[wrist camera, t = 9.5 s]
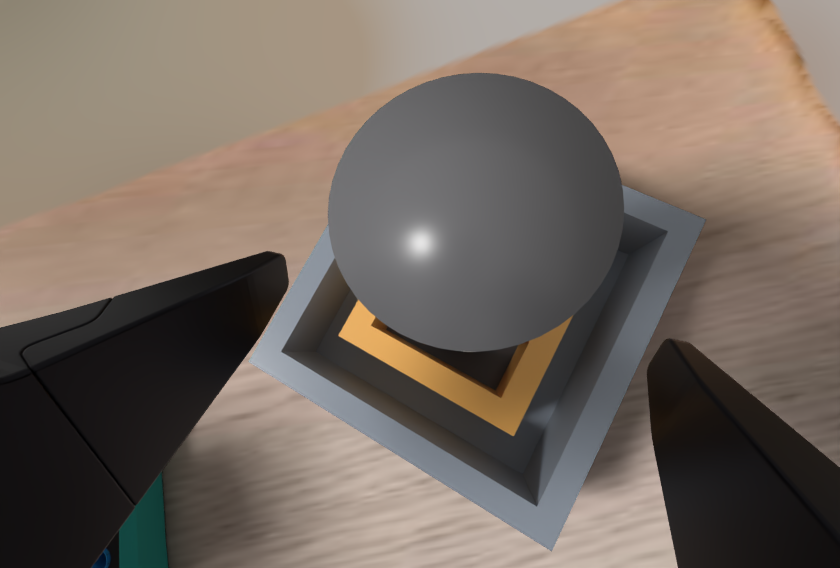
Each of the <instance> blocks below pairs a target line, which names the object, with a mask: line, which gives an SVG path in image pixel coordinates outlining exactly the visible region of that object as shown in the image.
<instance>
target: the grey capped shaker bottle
mask: <svg viewBox="0 0 840 568" xmlns="http://www.w3.org/2000/svg"><path fill="white" fill-rule="evenodd" d="M623 220H624V198H623V188H622V183H621V179H620V175H619V171H618V168H617V165H616V163H615V160H614V157H613V155H612V153H611V151H610V149H609V147H608V145H607V144H606V142H605V140H604V138H603V137H602V135H601V134H600V133H599V131H598V130H597V129H596V127H595V126H594V125H593V123H592V122H591V121H590V120H589V119H588V118H587V117H586V116H585V115H584V114H583V113H582V112H581V111H580V110H579V109H578V108H576V107H575V106H574V105H572V104H571V103H570V102H568V101H567V100H566V99H565V98H563V97H561V96H560V95H558V94H556V93H554V92H553V91H551V90H549V89H547V88H545V87H543V86H540V85H538V84H536V83H533V82H530V81H527V80H524V79H520V78H517V77H513V76H507V75H500V74H490V73H470V74H458V75H453V76H447V77H442V78H439V79H435V80H432V81H429V82H426V83H423V84H421V85H419V86H416V87H414V88H412V89H409V90H407V91H406V92H404V93H402V94H400V95H399V96H397V97H395V98H394V99H392V100H391V101H389V102H388V103H387V104H385V105H384V106H383V107H381V108H380V109H379V110H378V111H377V112H376V113H375V114H373V115H372V116H371V117H370V118H369V119H368V120H367V121H366V122H365V123H364V125H363V126H362V127H361V128H360V129H359V131H358V132H357V133H356V134H355V136H354V137H353V139H352V140H351V142H350V143H349V145H348V146H347V148H346V149H345V151H344V154H343V156H342V158H341V160H340V162H339V164H338V166H337V169H336V172H335V175H334V178H333V181H332V186H331V191H330V196H329V205H328V226H329V236H330V241H331V246H332V250H333V253H334V256H335V259H336V262H337V265H338V267H339V269H340V271H341V273H342V275H343V277H344V279H345V281H346V283H347V285H348V286H349V287H350V289H351V290H352V292H353V293H354V295H355V296H356V297H357V299H358V300H359V301H360V302H361V303H362V304H363V305H364V306H365V307H366V308H367V310H368V311H369V312H370V313H372V314H373V315H374V316H375V317H376V318H378V319H379V320H380V321H381V322H383V323H384V324H385V325H387V326H388V327H390V328H392V329H393V330H395V331H396V332H398V333H400V334H402V335H404V336H406V337H408V338H410V339H413V340H415V341H417V342H420V343H423V344H426V345H430V346H433V347H437V348H442V349H448V350H454V351H463V352H480V351H489V350H498V349H503V348H507V347H511V346H516V345H520V344H522V343H525V342H527V341H530V340H533V339H535V338H538V337H540V336H542V335H544V334H546V333H547V332H549V331H551V330H553V329H554V328H556V327H558V326H559V325H561V324H562V323H563V322H565V321H566V320H567V319H569V318H570V317H571V316H573V315H574V314H575V313H576V312H577V311H578V310H579V309H580V308H581V307H582V306H583V305H584V304H585V303H586V302H587V301H588V300H589V299H590V298H591V297H592V295H593V294H594V293H595V292H596V290H597V289H598V288H599V286H600V285H601V284H602V282H603V280H604V278H605V277H606V275H607V273H608V271H609V269H610V268H611V266H612V263H613V261H614V258H615V255H616V253H617V250H618V247H619V243H620V239H621V234H622V230H623Z"/></svg>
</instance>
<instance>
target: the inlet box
mask: <svg viewBox="0 0 840 568" xmlns="http://www.w3.org/2000/svg"><path fill="white" fill-rule="evenodd" d="M622 188H623V198H624V220H623V230H622V234H621V239H620V243H619V247H618V250H617V253H616V255H615V258H614V261H613V263H612V266H611V268H610V269H609V271H608V273H607V275H606V277H605V278H604V280H603V282H602V284H601V285H600V286H599V288H598V289H597V290H596V292H595V293H594V294H593V295H592V297H591V298H590V299H589V300H588V301H587V302H586V303H585V304H584V305H583V306H582V307H581V308H580V309H579V310H578V311H577V312H576V313H575V314H574V315H573V316H571V317H570V318H569V319H567V320H566V321H565V322H563V323H562V324H561V325H559V326H558V327H556V328H554V329H553V330H551V331H549V332H547V333H546V334H544V335H542V336H540V337H538V338H535V339H533V340H530V341H527V342H525V343H522V344H520V345H516V346H511V347H507V348H503V349H498V350H489V351H480V352H463V351H454V350H448V349H442V348H437V347H433V346H430V345H426V344H423V343H420V342H417V341H415V340H413V339H410V338H408V337H406V336H404V335H402V334H400V333H398V332H396V331H395V330H393V329H392V328H390V327H388V326H387V325H385V324H384V323H383V322H381V321H380V320H379V319H378V318H376V317H375V316H374V315H373V314H372V313H370V312H369V311H368V310H367V308H366V307H365V306H364V305H363V304H362V303H361V302H360V301H359V300H358V299H357V297H356V296H355V295H354V293H353V292H352V290H351V289H350V287H349V286H348V285H347V283H346V281H345V279H344V277H343V275H342V273H341V271H340V269H339V267H338V265H337V262H336V259H335V256H334V253H333V250H332V246H331V241H330V236H329V226H328V225H327V227H326V229H325V230H324V232H323V234H322V236H321V237H320V239H319V241H318V242H317V244H316V246H315V248H314V249H313V251H312V253H311V255H310V256H309V258H308V260H307V261H306V263H305V265H304V267H303V268H302V270H301V272H300V274H299V275H298V277H297V279H296V280H295V282H294V284H293V286H292V287H291V289H290V291H289V293H288V294H287V296H286V298H285V299H284V301H283V303H282V305H281V306H280V308H279V310H278V312H277V313H276V315H275V317H274V318H273V320H272V322H271V324H270V325H269V327H268V329H267V331H266V332H265V334H264V336H263V337H262V339H261V341H260V343H259V344H258V346H257V348H256V350H255V351H254V353H253V355H252V356H251V358H250V360H249V362H250V363H251V364H253V365H254V366H256V367H258V368H259V369H261V370H262V371H264V372H266V373H267V374H269V375H270V376H272V377H274V378H275V379H277V380H278V381H280V382H282V383H283V384H285V385H286V386H288V387H290V388H291V389H293V390H294V391H296V392H298V393H299V394H301V395H302V396H304V397H306V398H307V399H309V400H310V401H312V402H314V403H315V404H317V405H318V406H320V407H322V408H323V409H325V410H326V411H328V412H330V413H331V414H333V415H334V416H336V417H338V418H339V419H341V420H342V421H344V422H346V423H347V424H349V425H350V426H352V427H354V428H355V429H357V430H358V431H360V432H362V433H363V434H365V435H366V436H368V437H370V438H371V439H373V440H374V441H376V442H378V443H379V444H381V445H382V446H384V447H386V448H387V449H389V450H390V451H392V452H394V453H395V454H397V455H398V456H400V457H402V458H403V459H405V460H406V461H408V462H410V463H411V464H413V465H414V466H416V467H418V468H419V469H421V470H422V471H424V472H426V473H427V474H429V475H430V476H432V477H434V478H435V479H437V480H438V481H440V482H442V483H443V484H445V485H446V486H448V487H450V488H451V489H453V490H454V491H456V492H458V493H459V494H461V495H462V496H464V497H466V498H467V499H469V500H470V501H472V502H474V503H475V504H477V505H478V506H480V507H482V508H483V509H485V510H486V511H488V512H490V513H491V514H493V515H494V516H496V517H498V518H499V519H501V520H502V521H504V522H506V523H507V524H509V525H510V526H512V527H514V528H515V529H517V530H518V531H520V532H522V533H523V534H525V535H526V536H528V537H530V538H531V539H533V540H534V541H536V542H538V543H539V544H541V545H542V546H544V547H546V548H547V549H549V550H550V551H552V550H553V547H554V545H555V543H556V541H557V539H558V537H559V535H560V532H561V530H562V528H563V526H564V524H565V522H566V519H567V517H568V515H569V513H570V511H571V509H572V507H573V504H574V502H575V500H576V498H577V496H578V494H579V492H580V489H581V487H582V485H583V483H584V481H585V479H586V477H587V474H588V472H589V470H590V468H591V466H592V464H593V462H594V459H595V457H596V455H597V453H598V451H599V449H600V447H601V444H602V442H603V440H604V438H605V436H606V434H607V432H608V429H609V427H610V425H611V423H612V421H613V419H614V416H615V414H616V412H617V410H618V408H619V406H620V404H621V401H622V399H623V397H624V395H625V393H626V391H627V389H628V386H629V384H630V382H631V380H632V378H633V376H634V374H635V371H636V369H637V367H638V365H639V363H640V361H641V359H642V356H643V354H644V352H645V350H646V348H647V346H648V344H649V341H650V339H651V337H652V335H653V333H654V331H655V328H656V326H657V324H658V322H659V320H660V318H661V316H662V313H663V311H664V309H665V307H666V305H667V303H668V301H669V298H670V296H671V294H672V292H673V290H674V288H675V286H676V283H677V281H678V279H679V277H680V275H681V273H682V271H683V268H684V266H685V264H686V262H687V260H688V258H689V256H690V253H691V251H692V249H693V247H694V245H695V243H696V241H697V238H698V236H699V234H700V232H701V230H702V228H703V225H704V223H705V221H706V219H704V218H701V217H699V216H696V215H694V214H692V213H689V212H687V211H684V210H682V209H679V208H677V207H675V206H672V205H670V204H667V203H665V202H662V201H660V200H658V199H655V198H653V197H650V196H648V195H645V194H643V193H641V192H638V191H636V190H633V189H631V188H628V187H626V186H623V185H622Z"/></svg>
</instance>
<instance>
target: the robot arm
mask: <svg viewBox="0 0 840 568" xmlns="http://www.w3.org/2000/svg"><path fill="white" fill-rule="evenodd" d="M288 285H289V279H288V273H287V266H286V260H285V257H284V256H283V255H282V254H280V253H275V252H270V251H266V252H262V253H259V254H256V255H252V256H249V257H246V258H242V259H239V260H235V261H232V262H229V263H225V264H222V265H219V266H215V267H212V268H209V269H205V270H202V271H199V272H195V273H192V274H189V275H185V276H182V277H178V278H175V279H172V280H168V281H165V282H162V283H158V284H155V285H152V286H148V287H145V288H142V289H138V290H135V291H131V292H128V293H125V294H121V295H118V296H115V297H114V298H113V299H112V298H108V299H104V300H101V301H98V302H94V303H91V304H87V305H84V306H80V307H77V308H73V309H70V310H66V311H63V312H59V313H55V314H52V315H48V316H44V317H40V318H36V319H32V320H29V321H25V322H21V323H17V324H13V325H9V326H5V327H1V328H0V568H92V566H93V565H94V563H95V562H96V561H97V559H98V558H99V557H100V555H101V554H102V553H103V551H104V550H105V548H106V547H107V546H108V544H109V543H110V542H111V540H112V539H113V538H114V536H115V535H116V533H117V532H118V531H119V529H120V528H121V527H122V525H123V524H124V522H125V521H126V520H127V518H128V517H129V516H130V514H131V513H132V512H133V510H134V509H135V505H137V504H138V503H139V502H140V500H141V499H142V497H143V496H144V495H145V493H146V492H147V491H148V489H149V488H150V487H151V485H152V484H153V482H154V481H155V480H156V478H157V477H158V476H159V474H160V473H161V472H162V470H163V469H164V467H165V466H166V465H167V463H168V462H169V461H170V459H171V458H172V456H173V455H174V454H175V452H176V451H177V450H178V448H179V447H180V446H181V444H182V443H183V441H184V440H185V439H186V437H187V436H188V435H189V433H190V432H191V431H192V429H193V428H194V426H195V425H196V424H197V422H198V421H199V420H200V418H201V417H202V415H203V414H204V413H205V411H206V410H207V409H208V407H209V406H210V405H211V403H212V402H213V400H214V399H215V398H216V396H217V395H218V394H219V392H220V391H221V390H222V388H223V387H224V385H225V384H226V383H227V381H228V380H229V379H230V377H231V376H232V374H233V373H234V372H235V370H236V369H237V368H238V366H239V365H240V364H241V362H242V361H243V359H244V358H245V357H246V355H247V354H248V353H249V351H250V350H251V349H252V347H253V346H254V344H255V343H256V342H257V340H258V339H259V337H260V336H261V334H262V332H263V331H264V329H265V327H266V326H267V324H268V322H269V321H270V319H271V317H272V315H273V314H274V312H275V310H276V308H277V307H278V305H279V303H280V301H281V300H282V298H283V296H284V294H285V293H286V291H287V288H288ZM647 382H648V395H649V409H650V422H651V433H652V440H653V446H654V451H655V456H656V461H657V466H658V471H659V476H660V481H661V486H662V491H663V496H664V501H665V506H666V511H667V516H668V521H669V526H670V530H671V535H672V540H673V545H674V550H675V555H676V560H677V565H678V568H840V467H838V466H837V465H836V464H835V463H834V462H832V461H831V460H830V459H829V458H828V457H826V456H825V455H824V454H823V453H822V452H820V451H819V450H818V449H817V448H816V447H814V446H813V445H812V444H811V443H810V442H808V441H807V440H806V439H805V438H803V437H802V436H801V435H800V434H799V433H797V432H796V431H795V430H794V429H793V428H791V427H790V426H789V425H788V424H787V423H785V422H784V421H783V420H782V419H781V418H779V417H778V416H777V415H776V414H775V413H773V412H772V411H771V410H770V409H769V408H767V407H766V406H765V405H764V404H763V403H761V402H760V401H759V400H758V399H757V398H755V397H754V396H753V395H752V394H750V393H749V392H748V391H747V390H746V389H744V388H743V387H742V386H741V385H740V384H738V383H737V382H736V381H735V380H734V379H732V378H731V377H730V376H729V375H728V374H726V373H725V372H724V371H723V370H722V369H720V368H719V367H718V366H717V365H716V364H714V363H713V362H712V361H711V360H710V359H708V358H707V357H706V356H705V355H704V354H702V353H701V352H700V351H699V350H698V349H696V348H695V347H694V346H693V345H692V344H690V343H688V342H684V341H680V340H675V339H666V340H665V341H664V342H663V343H662V345H661V346H660V348H659V349H658V351H657V352H656V354H655V356H654V357H653V359H652V360H651V362H650V364H649V366H648V370H647Z"/></svg>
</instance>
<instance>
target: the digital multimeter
mask: <svg viewBox="0 0 840 568" xmlns="http://www.w3.org/2000/svg"><path fill="white" fill-rule="evenodd" d="M92 568H168V558H167V547H166V536H165V515H164V498H163V483H162V472H161V473H160V474H159V476H158V477H157V478H156V480H155V481H154V482H153V484H152V485H151V487H150V488H149V489H148V491H147V492H146V493H145V495H144V496H143V497H142V499H141V500H140V502H139V503H138V504H137V505H135V509H134V510H133V512H132V513H131V514H130V516H129V517H128V518H127V520H126V521H125V522H124V524H123V525H122V527H121V528H120V529H119V531H118V532H117V533H116V535H115V536H114V538H113V539H112V540H111V542H110V543H109V544H108V546H107V547H106V548H105V550H104V551H103V553H102V554H101V555H100V557H99V558H98V559H97V561H96V562H95V563H94V565H93V566H92Z"/></svg>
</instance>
